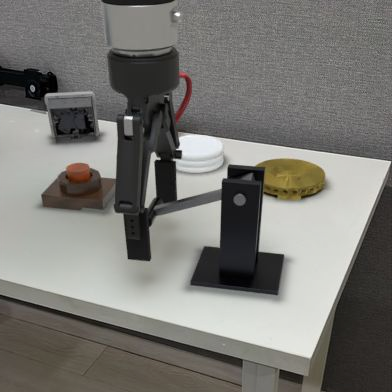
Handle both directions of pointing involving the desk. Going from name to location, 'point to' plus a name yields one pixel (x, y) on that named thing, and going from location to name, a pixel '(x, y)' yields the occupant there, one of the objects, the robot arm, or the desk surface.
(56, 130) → the electrical switch
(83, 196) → the button block
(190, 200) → the switch lever
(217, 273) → the stand
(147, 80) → the robot arm
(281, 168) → the compass
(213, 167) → the coaster
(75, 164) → the button
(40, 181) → the desk surface
